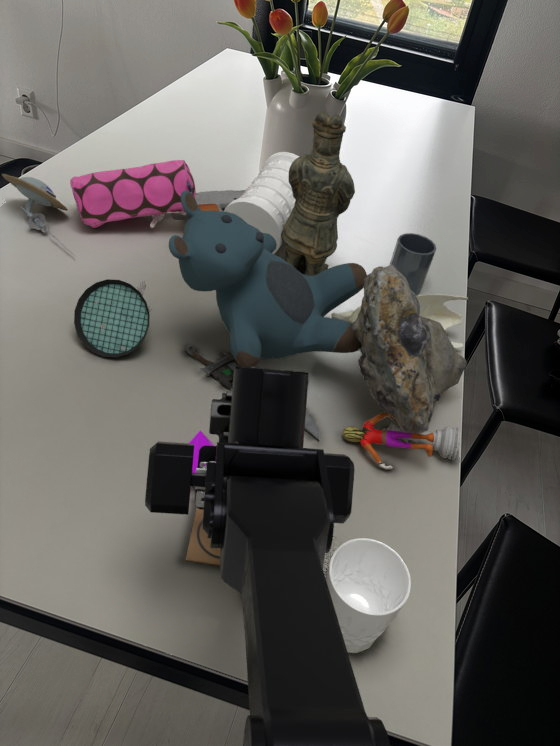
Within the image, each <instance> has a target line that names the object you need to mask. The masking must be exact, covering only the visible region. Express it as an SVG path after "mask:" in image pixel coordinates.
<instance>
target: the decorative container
mask: <svg viewBox="0 0 560 746" xmlns="http://www.w3.org/2000/svg"><path fill="white" fill-rule="evenodd" d="M298 157H300V155H297V154H296V153H293V152H288V151H278V152H276V153H273V154H271V155H270V156H269V157H268V158H267V159H266V160H265V162H264V163H263V165H262V167H261V170H260V171H259V173H258V174H257V176H256V177H254V178H253V180H252V181H251V184H250V185H248V186H247V188H246V189H245V190H246V191H245V192H244V194H243V195H242V196H241V197H240V198H239V199H236V200H233V201H232V202H231V203H230V204H229V205H228V206H227V207H226V208H225V210H224V212H229V213H233V214H235V215H237V216H239V217H240V218H242V219H243V220H244V221H245V222H246V223H247V224H249V225H251V226H253V227H255V228H257V229H258V230H259V231H260V232H262V233H267V234H270V235H271V236H273V237H274V239H275V240H276V244H277V245H276V249H275V250H274V251H273V254H275V255H276V253H277V252H278V250H279V249H280V248H281V246H282V245H283V243H284V242H283V241H282V237H281V233H282V230H283V228H284V225H285V223H286V221H287V219H288V217H289V216H290V213H291V211H292V209H293V207H294V205H295V201H296V199H295V198H294V197H293V192H292V188H291V185H290V183H289V169H290V166H291V164H292V162H293V161H294V160H295V159H296V158H298Z"/></svg>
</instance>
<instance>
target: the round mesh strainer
mask: <svg viewBox="0 0 560 746" xmlns="http://www.w3.org/2000/svg"><path fill="white" fill-rule="evenodd" d="M146 287H147V284H146V280H144V279H142V280H141V282H139V286H137V287H135V286H134V285H132V284H131V283H129V282H126V281H123V280H121V279H107V278H106V279H104V280H99V281H97V282H94V283H93V284H91V285H90V286H89V287H87V288H86V289H85V290H84V291H83V293H82V294H81V296H80V297H78V299H77V303H76V305H75V308H74V314H73V318H74V319H73V325H74V328H75V331H76V335H77V337H78V338H79V340H80V341H81V343H82V345H83V346H84V347H85V348H87V350H89V351H90V352H92V353H93V354H96V355H99V356H101V357H104V358H120V357H123V356H126V355H128V354H131V353H132V352H133V351H134V350H136V349H138V348H139V346H140V345H141V344H142V342H143V341H144V340H145V338H146V337H147V334H148V331H149V328H150V314H151V313H150V312H152V308H151V305H149V306H148V304H147V303H148V302H147V300H146V299H145V298H144V293H145V290H146ZM150 308H151V309H150Z"/></svg>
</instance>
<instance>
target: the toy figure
mask: <svg viewBox="0 0 560 746" xmlns="http://www.w3.org/2000/svg"><path fill="white" fill-rule="evenodd" d="M387 417H389V418H390V420H393V418H394V419H395V417H394V416H392V415H391V414H388V413H386V412H384V411H383V412H381V413H378V414H377V415H376V416H374V417H372V418H370V419H368V420H366V421H365V422H363V425H362V428H359V427H356V426H347V427H345V428H344V429H343V430H342V437H343V438H344V439H345V440H346V441H348V442H351V443H360V445H361V447H362V448H364V450H366V451H368V453H370V456H371V458H373V460H374V461H375V462H376V464H377V465H378V466H379V467H380V468H381V469H383V470H392V469H393V468H394V467H393V465H386V463H383V462H382V459H381V457H380V456H379V454H378V452H377V451H376V450H375V448H374V447H373V446H372V444H377V445H384V446H386V447H389V448H404V449H408V450H425V452H426V453H427V456H428V457H429V458H431V457H432V455H433V454H434V453H433V451H434V450H433V446H432V445H431V444H423V443H416V442H408V443H405V442H404V441H403V440H401V439H400V438H402V439H403V438H412V439H426V440H428V441H430V442H432V443H433V442H434V434H433V433H431V432H429V433H430V434H428V435H423V434H418V433H405V432H398V431H391V430H386V431H383V429H376V428H374V427H375V426H376V424H377V423H378V422H379V421H381V420H383V419H385V418H387Z"/></svg>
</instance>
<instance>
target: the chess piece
mask: <svg viewBox="0 0 560 746" xmlns="http://www.w3.org/2000/svg"><path fill="white" fill-rule="evenodd" d="M382 430H383V431H386V430H391V431H398V432H403V430H402V429H401V428H399V427H397V426H396V425H395V424H394V423H392V422H390V424H389V426H388V427H387V428H386V427H385V428H383V429H382ZM405 433H407V432H405ZM430 433H433V434H434V442H433V443H432V442H430V441H428V440H426V439H412V438H400V439H399V440H402V442H405V443H409V440H410V441H413V442H418V443H419V444H431V445H432V446H433V451H437V452H438V454H439V456H440V457H442V459H448V460H451V461H454V460H455V459H456V457H457V454H458V450H459V445H460V439H461V430H460V427H451V426H446V427H444V428H443V429H442V430H439V429H436V430H435V431H433V432H426V431H425V432H422V433H420V434H423V435H428V434H430Z"/></svg>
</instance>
